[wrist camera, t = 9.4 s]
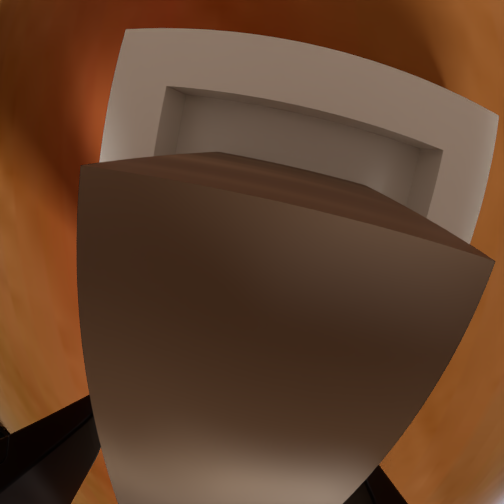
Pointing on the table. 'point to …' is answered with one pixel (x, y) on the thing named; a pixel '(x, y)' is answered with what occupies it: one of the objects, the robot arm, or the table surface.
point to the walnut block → (258, 326)
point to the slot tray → (302, 116)
